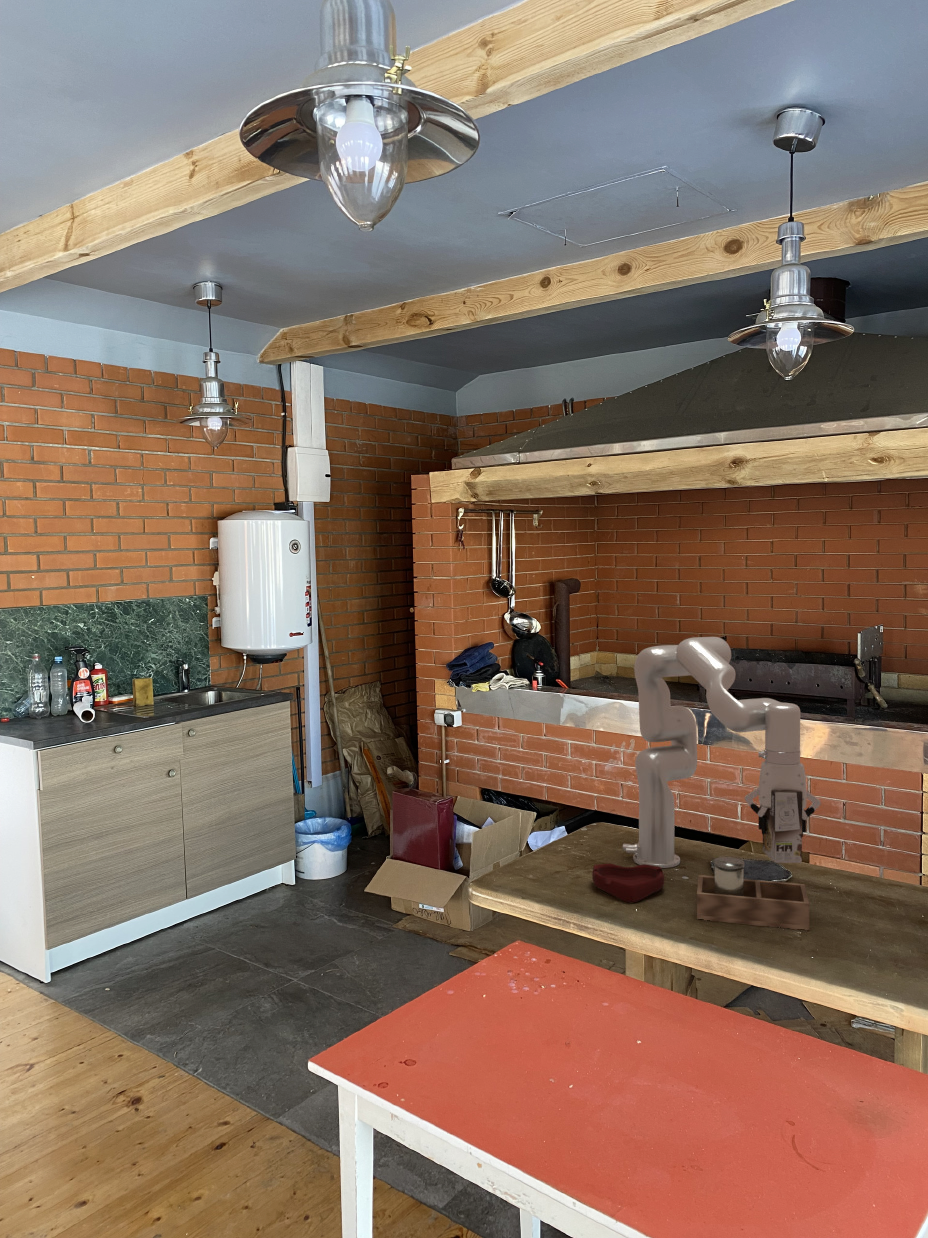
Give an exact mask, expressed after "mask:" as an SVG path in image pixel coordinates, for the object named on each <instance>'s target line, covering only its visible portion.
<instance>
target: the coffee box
mask: <svg viewBox="0 0 928 1238" xmlns="http://www.w3.org/2000/svg"><path fill="white" fill-rule="evenodd" d="M802 794H803V792H802V791H793V790H771V808H767V810H766V812H765V813H764V815H765V834H762V852H763V853H764V854H766V856H767V857H768V858H769V859H771V861H772V862H774V863H776V864H777V863H787V864H788V863H789V864H790V863H791V864H793V863H794V864H797V863H798V864H801V863H802V861H803V837H802Z"/></svg>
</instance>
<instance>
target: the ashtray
mask: <svg viewBox="0 0 928 1238" xmlns="http://www.w3.org/2000/svg"><path fill="white" fill-rule="evenodd" d="M591 875H592V876H591V877H592V883H593V884H594V885H595V886H596V887H597V888H598V889H599V890H602V891H604V892H605V893H608V894H610V895H611V896H614V897H615V898H617V899H618V900H620V901H622V902H625V901H626V903H629V902H634V903H636V902H639V901H641V900H644V899H645V898H646V897H647V898H648V896H650V895H652V894H653V893H654V894H655V893H656V892H658V891H661V889H662V888H663V887H664V886H665V874H664V870H663V868H661V867H658V866H651V865H646V864H643V865H639V864H638V865H637V866H630V867H629V866H621V865H618V864H614V863H609V862H606V863H602V864H595V865H594V866H593V868H592V874H591Z"/></svg>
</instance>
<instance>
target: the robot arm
mask: <svg viewBox="0 0 928 1238" xmlns="http://www.w3.org/2000/svg"><path fill="white" fill-rule="evenodd" d="M729 645H730V644H729V643H727V641H726V640H725V639H723V638H721V637H718V636H702V637H701V636H699V637H697V636H696V637H695V636H694V637H689V638H685V639H683V640H682V641H680V642H679V644H667V645H655V646H650V647H647V648H644V649H642V650H641V651H640V652H639V653H638V655H637V656H636V658H635V662H634V669H633V670H634V677H635V678H634V679H635V681H636V686H637V690H638V691H637V692H638V716H639V717H638V719H639V732H640V735H641V738H642V739H643V740H644V741H646V742H647V743H648V742H649V743H663V742H670V745H662V746H654V747H648V748H644V749H643V750H641V751H640V752H639V753H638V754H637V755H636V757H635V762H634V765H635V766H634V767H635V772H636V779H637V784H638V842H637V843H634V844H630V843H622V851H624V852H625V853H629V854H633V856H632V857H633V862H634V863H636V864H637V865H638V866H639V865H643V864H646V865H651V866H658V867H661V869H668V868H669V869H670V868H674V867H677V866H678V865H680V864H681V858H680V856H679V855H678V854H676V853H675V796H674V793H673V791H672V790H671V788H670V786H669V783H668V782H673V781H677V780H679V781H680V780H685V779H689V778H690V777H693V776H694V774H695V772H696V771H697V767H698V740H697V739H698V737H697V735H698V734H697V722H696V719H695V716H694V714H693V713H692V711H691V710H690V709H689V708H687V707H686V706H684V705H671V692H670V688H669V686H668V685H667V682H666V680H665V679H663V678H668V677H671V678H672V677H686V676H687V677H688V676H691V677H692V678H694V679H695V681H697V682H698V683H699V684H700V685H701V687H702V688H704V689H705V690H706V696H705V697H706V701H707V705H708V708H709V710H710V712H711V714H712V715H713V716H714V717H715V718H716V719H717V720H718V721H719V722H720V723H721V724H722V725H724V727H726V728H727V729H729V730H731V732H735V733H748V732H749V733H750V732H758V731H759V732H760V731H764V732H765V733H764V749H763V750H761V751H760V750H759V751H758V753H757V755H758V758H762V759H763V760H764V761H762V762H761V767H760V769H759V781H758V787H757V788H755V789H754V790H752V791H751V792H749V793H748V794H746V795H745V796H744V800H745V802H746V803H747V805H748V806H749V807H750V808H751V810H752V811H753V812H754V813H755V814H756V815H757V816H758V830H761V834H762V835H763V834H765V815H764V813H765V812H766V810H767V808H771V790H793V791H802V792H803V794H802V838H803V837H804V833H805V834H806V833H807V820H808V818H809V817H810V816H812V815H813V814H814V813H815V812H816V810H817V809H818V808H819V807H820V806H821V805H822V803H821V800H820V799H818V798H817V797H816V796H815V795H813V794H812V793H811V792H810V791H808V790H807V778H806V771H805V766H804V764H803V763H801V709H800V706H798V705H797V704H795V703H789V702H781V701H778V700H776V699H773V698H769V697H761V698H748V699H739V700H738V699H736V697H734V696H733V695H732V694H731V693H730V692H729V691H728V690H729V689H730V688H731V687H732V685H734V683H735V680H736V670H735V668H734V667H733V666H732V665H731V664H730V662H731V661H732V660H731V659H732V650H731V647H730V646H729ZM756 797H758V802H759V804H760V805H759V806H758V805H757V804H756V803H755V802H754V799H755V798H756ZM807 800H809V801H810V802H811V805H810V806H808V807H807ZM805 808H806V809H805Z"/></svg>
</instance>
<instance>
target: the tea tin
mask: <svg viewBox="0 0 928 1238" xmlns="http://www.w3.org/2000/svg"><path fill="white" fill-rule="evenodd" d="M713 866H714V877H715V894H723V895H734V896H743V879H744V869H745V861H744V860H743V859H740V858H737V857H733V856H732V857H731V856H720V857H716V858H714V859H713Z"/></svg>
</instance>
